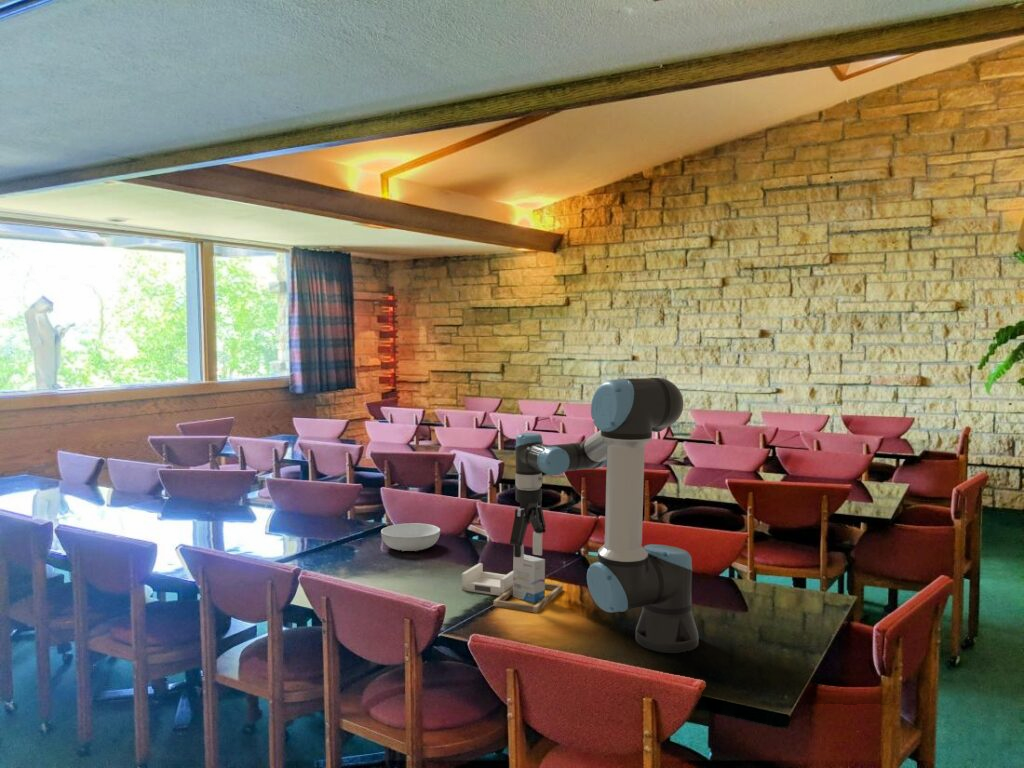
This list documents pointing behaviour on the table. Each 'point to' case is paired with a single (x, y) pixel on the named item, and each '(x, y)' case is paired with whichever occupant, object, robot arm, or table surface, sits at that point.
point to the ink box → (529, 580)
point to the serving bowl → (410, 536)
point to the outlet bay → (486, 581)
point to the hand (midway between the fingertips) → (528, 561)
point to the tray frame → (524, 607)
